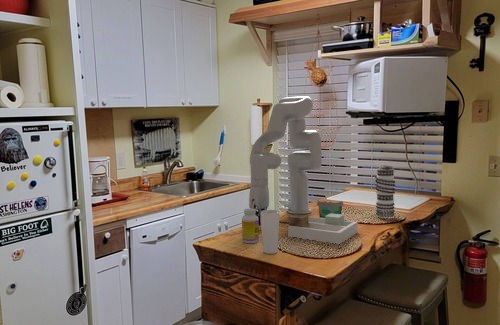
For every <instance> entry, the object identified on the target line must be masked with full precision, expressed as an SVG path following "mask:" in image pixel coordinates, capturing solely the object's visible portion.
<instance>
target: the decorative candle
mask: <svg viewBox="0 0 500 325" xmlns="http://www.w3.org/2000/svg"><path fill="white" fill-rule="evenodd" d="M394 170H395V168H393V166H392V165H388V164H387V165H386V164H385V165H383V164H382V165H378V167H377V168H376V171H377V172H376V177H374V179H375V180H374V181H375V183H376V184H375V190H376V191H375V193H376V202H375V205H376V206H375V208H376V209H375V216H379V217H387V218H388V217H393V216H394V217H395V199H394V195H395V193H396V192H395V190H396V189H395V188H394V187H395V186H396V181H395V180H394V179H395V175H394V174H395V173H394V172H395V171H394Z"/></svg>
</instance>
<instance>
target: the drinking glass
mask: <svg viewBox="0 0 500 325" xmlns="http://www.w3.org/2000/svg"><path fill="white" fill-rule="evenodd" d="M279 221H280V211H278V210H277V209H267V210H263V211H261V226H260V230H261V240H262V251H263V253H264V254H266V255H273V254H277V253H278V251H279V232H280V223H279Z"/></svg>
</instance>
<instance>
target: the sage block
mask: <svg viewBox="0 0 500 325" xmlns="http://www.w3.org/2000/svg"><path fill="white" fill-rule="evenodd" d="M344 220H345V214H342V213H341V214H332V213H330V214H328V215H326V216H325V224H330V225H338V226H344Z"/></svg>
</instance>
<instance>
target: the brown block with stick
mask: <svg viewBox="0 0 500 325" xmlns="http://www.w3.org/2000/svg"><path fill="white" fill-rule="evenodd" d="M260 216H261V213H260ZM308 222H309V214H308V215H307V214H291V215H290V216H288V221H283V220H279V224H284V225H288V226H297V227H305V228H309V227H308ZM259 227H261V225H259Z"/></svg>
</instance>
